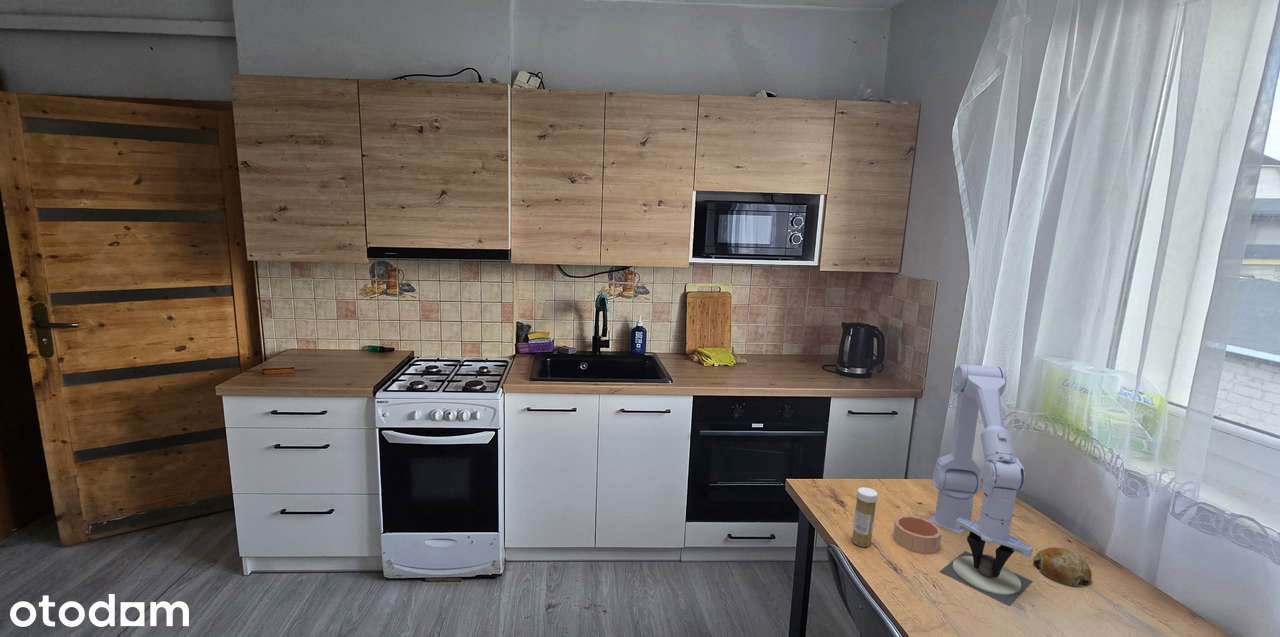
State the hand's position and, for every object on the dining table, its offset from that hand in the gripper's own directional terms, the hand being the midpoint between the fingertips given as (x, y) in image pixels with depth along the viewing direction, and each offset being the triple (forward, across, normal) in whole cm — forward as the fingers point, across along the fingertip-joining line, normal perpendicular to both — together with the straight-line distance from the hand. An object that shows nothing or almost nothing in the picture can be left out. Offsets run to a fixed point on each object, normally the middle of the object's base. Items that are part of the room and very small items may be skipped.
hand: (986, 570), depth 126 cm
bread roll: (+2, +10, +16) cm, 19 cm away
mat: (+2, 0, 0) cm, 2 cm away
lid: (+1, 0, 0) cm, 1 cm away
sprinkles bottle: (+2, -24, -10) cm, 26 cm away
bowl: (+2, -16, +1) cm, 16 cm away
